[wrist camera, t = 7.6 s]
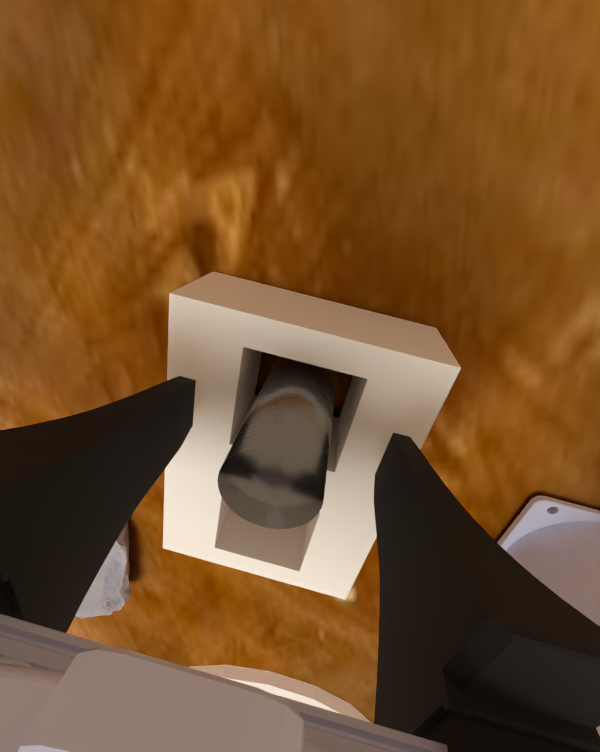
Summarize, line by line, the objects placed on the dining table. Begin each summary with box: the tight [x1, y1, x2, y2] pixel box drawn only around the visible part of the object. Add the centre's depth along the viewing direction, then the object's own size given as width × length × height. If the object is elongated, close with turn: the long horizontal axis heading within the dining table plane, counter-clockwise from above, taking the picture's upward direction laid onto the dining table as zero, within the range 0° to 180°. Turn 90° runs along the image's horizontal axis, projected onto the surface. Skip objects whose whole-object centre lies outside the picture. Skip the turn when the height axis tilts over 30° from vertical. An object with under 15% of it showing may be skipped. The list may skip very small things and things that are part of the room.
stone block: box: [75, 522, 131, 618], centre depth 25 cm, size 12×5×10 cm
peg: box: [218, 356, 338, 529], centre depth 13 cm, size 3×3×8 cm
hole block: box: [163, 271, 461, 599], centre depth 16 cm, size 10×14×4 cm
